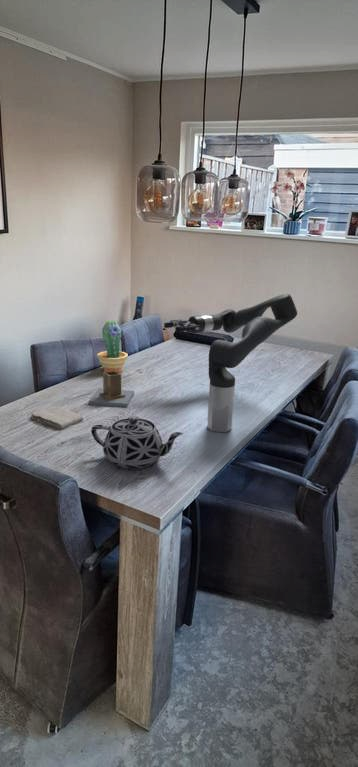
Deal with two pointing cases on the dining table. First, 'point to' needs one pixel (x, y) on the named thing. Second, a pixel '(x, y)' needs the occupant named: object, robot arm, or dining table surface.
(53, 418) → the washcloth
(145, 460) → the teapot
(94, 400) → the post plate
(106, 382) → the flanged sleeve
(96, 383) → the dining table surface
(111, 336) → the potted cactus
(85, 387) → the dining table surface
